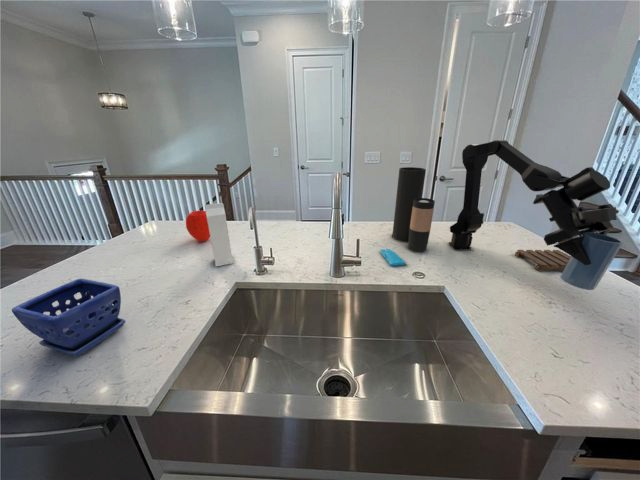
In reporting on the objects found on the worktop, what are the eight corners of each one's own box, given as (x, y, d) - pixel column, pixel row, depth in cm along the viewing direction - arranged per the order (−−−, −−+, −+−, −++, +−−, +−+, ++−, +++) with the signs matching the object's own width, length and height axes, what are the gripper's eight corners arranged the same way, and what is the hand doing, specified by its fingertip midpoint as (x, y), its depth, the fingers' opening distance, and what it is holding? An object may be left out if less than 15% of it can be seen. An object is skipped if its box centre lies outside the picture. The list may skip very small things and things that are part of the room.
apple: (223, 238, 118) (218, 209, 113) (200, 247, 109) (193, 216, 103) (207, 233, 124) (201, 206, 118) (183, 241, 115) (177, 212, 109)
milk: (233, 263, 95) (224, 205, 86) (215, 266, 93) (204, 207, 84) (231, 256, 100) (222, 200, 91) (214, 259, 98) (204, 202, 89)
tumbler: (575, 288, 68) (602, 241, 62) (553, 274, 74) (576, 230, 69) (602, 291, 68) (632, 244, 62) (578, 276, 74) (602, 233, 69)
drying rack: (538, 270, 88) (540, 264, 87) (514, 255, 99) (516, 249, 98) (586, 270, 87) (589, 264, 86) (557, 255, 98) (559, 249, 97)
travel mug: (404, 245, 108) (410, 198, 101) (421, 244, 109) (429, 197, 101) (411, 252, 101) (418, 203, 94) (430, 252, 102) (439, 202, 94)
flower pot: (96, 315, 68) (79, 276, 64) (134, 324, 65) (120, 284, 60) (33, 353, 57) (7, 308, 52) (75, 367, 53) (51, 320, 49)
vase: (387, 235, 119) (394, 168, 107) (405, 232, 122) (413, 166, 111) (402, 243, 110) (410, 171, 99) (420, 239, 114) (431, 169, 102)
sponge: (394, 249, 103) (380, 248, 102) (406, 263, 92) (391, 262, 91) (393, 252, 103) (379, 251, 102) (405, 266, 92) (390, 266, 91)
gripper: (574, 197, 62) (616, 257, 57) (618, 190, 68) (659, 244, 63) (529, 218, 72) (561, 272, 66) (571, 211, 78) (603, 259, 72)
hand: (597, 262), depth 67 cm, fingers closed on tumbler, 7 cm apart
